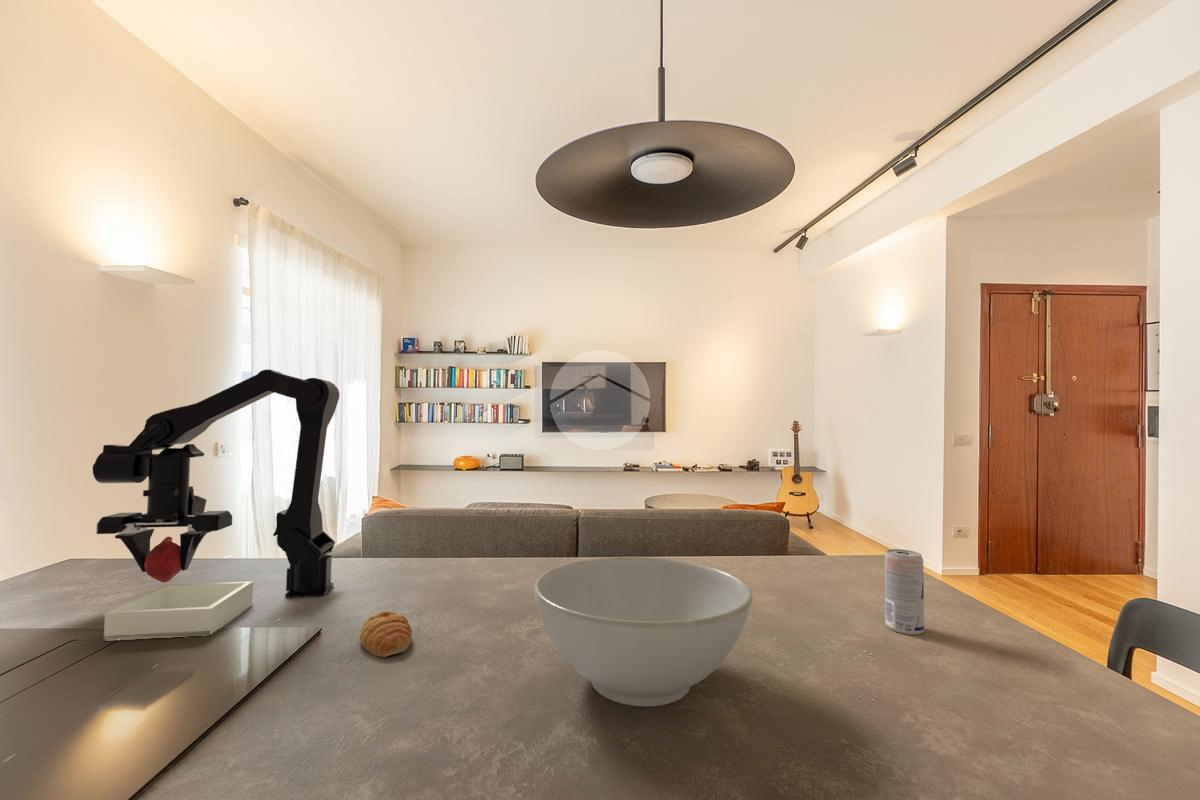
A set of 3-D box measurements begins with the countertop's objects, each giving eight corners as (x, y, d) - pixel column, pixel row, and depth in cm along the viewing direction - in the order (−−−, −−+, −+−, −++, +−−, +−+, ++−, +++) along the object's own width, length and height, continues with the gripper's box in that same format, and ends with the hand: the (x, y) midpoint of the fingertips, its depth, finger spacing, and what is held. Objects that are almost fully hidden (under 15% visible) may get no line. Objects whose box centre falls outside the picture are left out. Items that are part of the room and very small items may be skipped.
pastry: (421, 653, 74) (421, 625, 74) (369, 665, 70) (370, 636, 71) (403, 631, 82) (404, 606, 82) (356, 641, 78) (356, 614, 78)
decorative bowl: (547, 635, 80) (548, 554, 81) (726, 640, 79) (726, 558, 80) (512, 741, 54) (515, 619, 54) (782, 750, 53) (782, 626, 53)
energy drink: (921, 626, 86) (921, 551, 87) (926, 638, 81) (925, 558, 82) (884, 620, 88) (883, 547, 89) (886, 632, 83) (885, 554, 84)
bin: (252, 604, 92) (253, 581, 92) (210, 636, 78) (211, 608, 79) (162, 608, 89) (164, 584, 89) (103, 641, 76) (105, 613, 76)
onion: (167, 587, 92) (169, 540, 92) (134, 587, 92) (136, 540, 92) (193, 577, 98) (195, 533, 98) (162, 577, 98) (164, 533, 98)
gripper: (247, 477, 105) (244, 557, 105) (139, 478, 102) (135, 561, 101) (218, 484, 94) (214, 573, 94) (96, 485, 91) (91, 578, 90)
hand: (165, 570), depth 95 cm, fingers closed on onion, 6 cm apart
